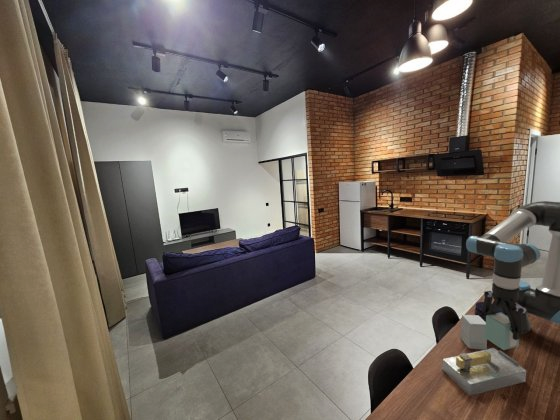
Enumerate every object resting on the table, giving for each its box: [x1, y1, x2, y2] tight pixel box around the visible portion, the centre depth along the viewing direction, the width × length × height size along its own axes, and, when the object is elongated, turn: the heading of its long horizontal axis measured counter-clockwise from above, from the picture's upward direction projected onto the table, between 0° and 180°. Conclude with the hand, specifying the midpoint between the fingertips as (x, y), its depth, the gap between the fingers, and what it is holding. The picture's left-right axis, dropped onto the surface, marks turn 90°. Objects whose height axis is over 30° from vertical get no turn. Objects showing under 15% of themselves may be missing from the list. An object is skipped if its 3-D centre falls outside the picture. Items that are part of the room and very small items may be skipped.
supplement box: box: [460, 314, 488, 350], centre depth 111 cm, size 7×7×13 cm
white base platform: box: [442, 347, 527, 396], centre depth 95 cm, size 25×12×6 cm, turn 99°
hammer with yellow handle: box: [456, 351, 491, 372], centre depth 93 cm, size 3×14×5 cm, turn 98°
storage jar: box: [474, 301, 502, 343], centre depth 115 cm, size 10×10×15 cm
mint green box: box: [485, 313, 520, 351], centre depth 93 cm, size 7×7×10 cm
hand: (501, 338), depth 94 cm, fingers closed on mint green box, 7 cm apart
